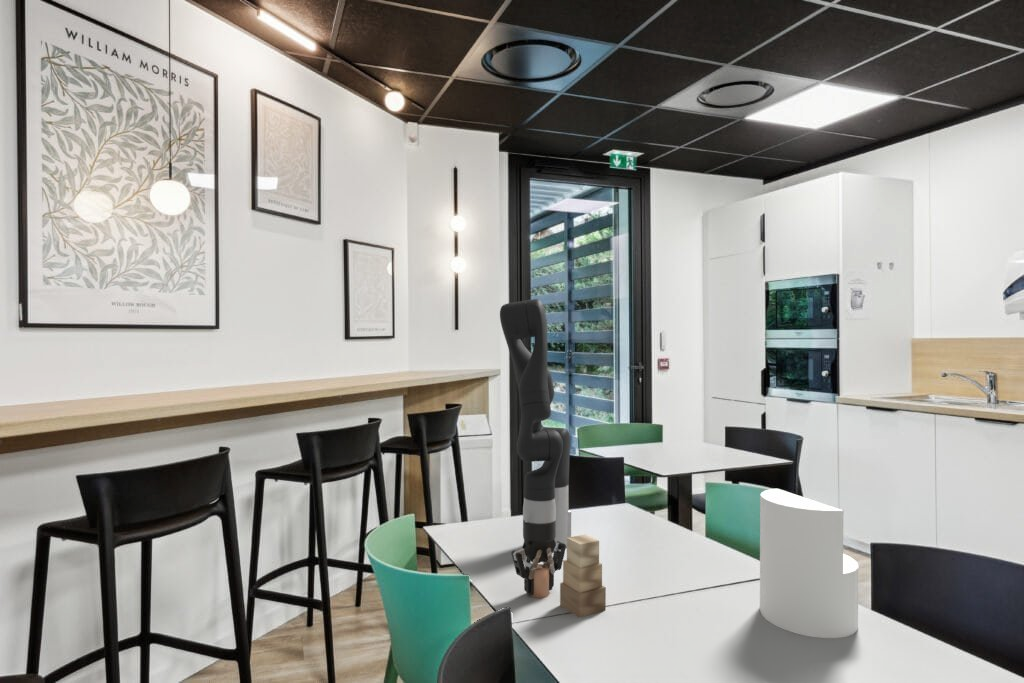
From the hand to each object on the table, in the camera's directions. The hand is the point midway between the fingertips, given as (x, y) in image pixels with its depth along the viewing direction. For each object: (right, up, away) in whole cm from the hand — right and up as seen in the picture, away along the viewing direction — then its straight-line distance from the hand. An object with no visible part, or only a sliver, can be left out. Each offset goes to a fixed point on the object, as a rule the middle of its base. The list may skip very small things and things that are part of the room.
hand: (539, 591), depth 142 cm
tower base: (+9, -1, -7) cm, 12 cm away
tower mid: (+9, +4, -7) cm, 12 cm away
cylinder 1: (0, -1, 0) cm, 1 cm away
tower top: (+9, +9, -7) cm, 15 cm away
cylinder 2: (+56, -1, -11) cm, 57 cm away
